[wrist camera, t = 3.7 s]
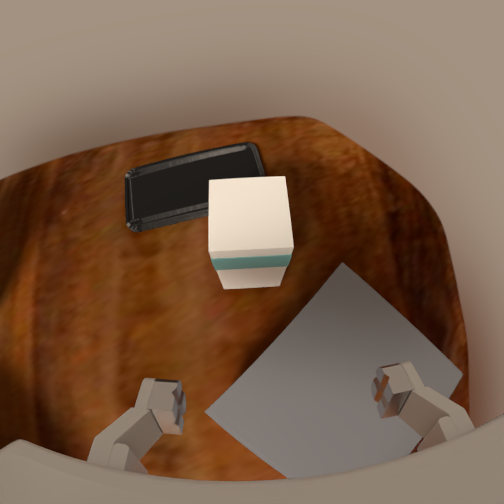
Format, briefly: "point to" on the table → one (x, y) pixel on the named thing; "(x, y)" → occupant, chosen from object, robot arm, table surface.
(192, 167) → the phone
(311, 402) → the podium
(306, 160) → the table surface
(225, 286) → the carton
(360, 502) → the robot arm
